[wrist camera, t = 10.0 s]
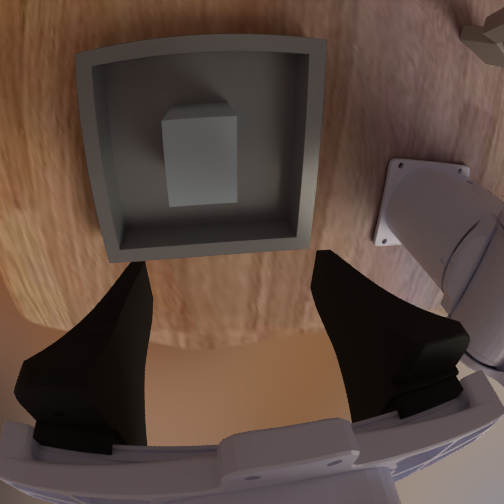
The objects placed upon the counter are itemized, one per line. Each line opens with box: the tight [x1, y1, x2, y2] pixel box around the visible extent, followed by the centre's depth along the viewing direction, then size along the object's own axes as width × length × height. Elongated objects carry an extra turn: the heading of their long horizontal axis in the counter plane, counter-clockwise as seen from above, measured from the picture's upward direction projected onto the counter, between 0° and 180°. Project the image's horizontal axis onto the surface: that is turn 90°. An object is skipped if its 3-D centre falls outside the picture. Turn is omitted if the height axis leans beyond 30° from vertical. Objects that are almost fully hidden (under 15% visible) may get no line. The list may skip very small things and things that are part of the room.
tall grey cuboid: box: [161, 102, 237, 207], centre depth 17 cm, size 4×4×6 cm
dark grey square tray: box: [75, 34, 327, 263], centre depth 19 cm, size 14×14×3 cm
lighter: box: [460, 8, 504, 68], centre depth 13 cm, size 7×2×8 cm, turn 72°
